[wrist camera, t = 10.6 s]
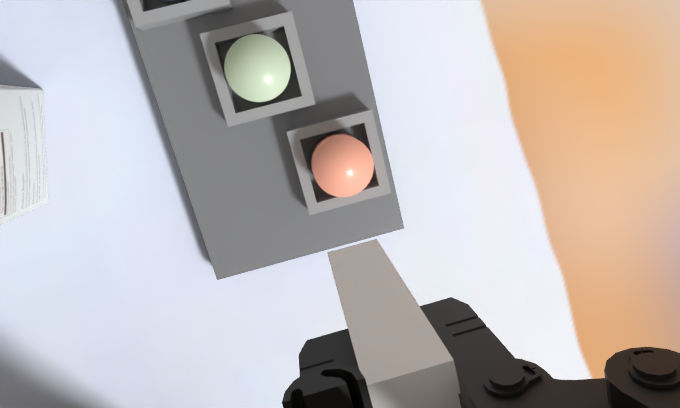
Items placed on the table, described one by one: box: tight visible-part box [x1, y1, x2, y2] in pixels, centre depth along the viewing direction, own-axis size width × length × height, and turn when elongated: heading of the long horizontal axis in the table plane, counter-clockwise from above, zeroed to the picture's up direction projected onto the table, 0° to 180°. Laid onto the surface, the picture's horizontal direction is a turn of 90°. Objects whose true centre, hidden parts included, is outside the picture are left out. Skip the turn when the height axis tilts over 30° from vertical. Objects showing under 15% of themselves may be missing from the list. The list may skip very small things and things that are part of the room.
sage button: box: [224, 34, 291, 102], centre depth 34 cm, size 4×4×4 cm
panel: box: [123, 0, 404, 280], centre depth 36 cm, size 16×30×4 cm, turn 14°
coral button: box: [310, 133, 374, 197], centre depth 36 cm, size 4×4×4 cm
